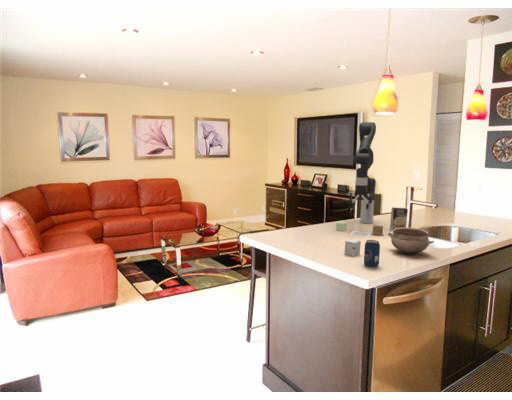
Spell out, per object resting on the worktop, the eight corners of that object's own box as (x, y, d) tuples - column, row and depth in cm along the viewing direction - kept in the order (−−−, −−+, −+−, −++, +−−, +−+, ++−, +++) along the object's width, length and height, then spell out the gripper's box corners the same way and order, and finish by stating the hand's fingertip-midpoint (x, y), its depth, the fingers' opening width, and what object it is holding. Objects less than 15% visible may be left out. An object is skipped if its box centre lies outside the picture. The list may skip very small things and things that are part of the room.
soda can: (360, 264, 189) (361, 240, 188) (371, 262, 192) (373, 239, 190) (370, 268, 183) (371, 243, 181) (381, 266, 186) (383, 242, 184)
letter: (352, 231, 263) (352, 230, 263) (372, 233, 257) (372, 232, 257) (349, 234, 252) (349, 234, 252) (369, 237, 247) (369, 236, 246)
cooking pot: (378, 251, 214) (380, 229, 212) (395, 245, 227) (396, 224, 225) (424, 261, 196) (426, 237, 194) (439, 254, 209) (441, 232, 207)
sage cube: (337, 229, 268) (338, 221, 268) (346, 230, 266) (346, 222, 265) (336, 230, 263) (336, 222, 263) (344, 231, 261) (344, 223, 260)
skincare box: (344, 254, 207) (344, 240, 206) (349, 252, 211) (350, 238, 210) (354, 256, 203) (355, 242, 202) (360, 254, 207) (360, 240, 206)
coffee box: (391, 232, 260) (393, 208, 258) (389, 230, 267) (391, 207, 265) (406, 233, 260) (407, 209, 257) (403, 231, 266) (405, 207, 264)
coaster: (371, 233, 258) (371, 232, 258) (384, 234, 254) (384, 234, 254) (370, 235, 250) (370, 235, 250) (383, 237, 247) (383, 236, 247)
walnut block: (373, 233, 256) (374, 225, 255) (382, 234, 254) (382, 226, 253) (372, 235, 251) (372, 226, 250) (381, 236, 249) (381, 227, 248)
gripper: (373, 184, 255) (371, 208, 257) (351, 183, 260) (349, 207, 263) (372, 185, 248) (370, 210, 251) (349, 184, 253) (348, 209, 256)
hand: (360, 208), depth 257 cm, fingers open, 8 cm apart
